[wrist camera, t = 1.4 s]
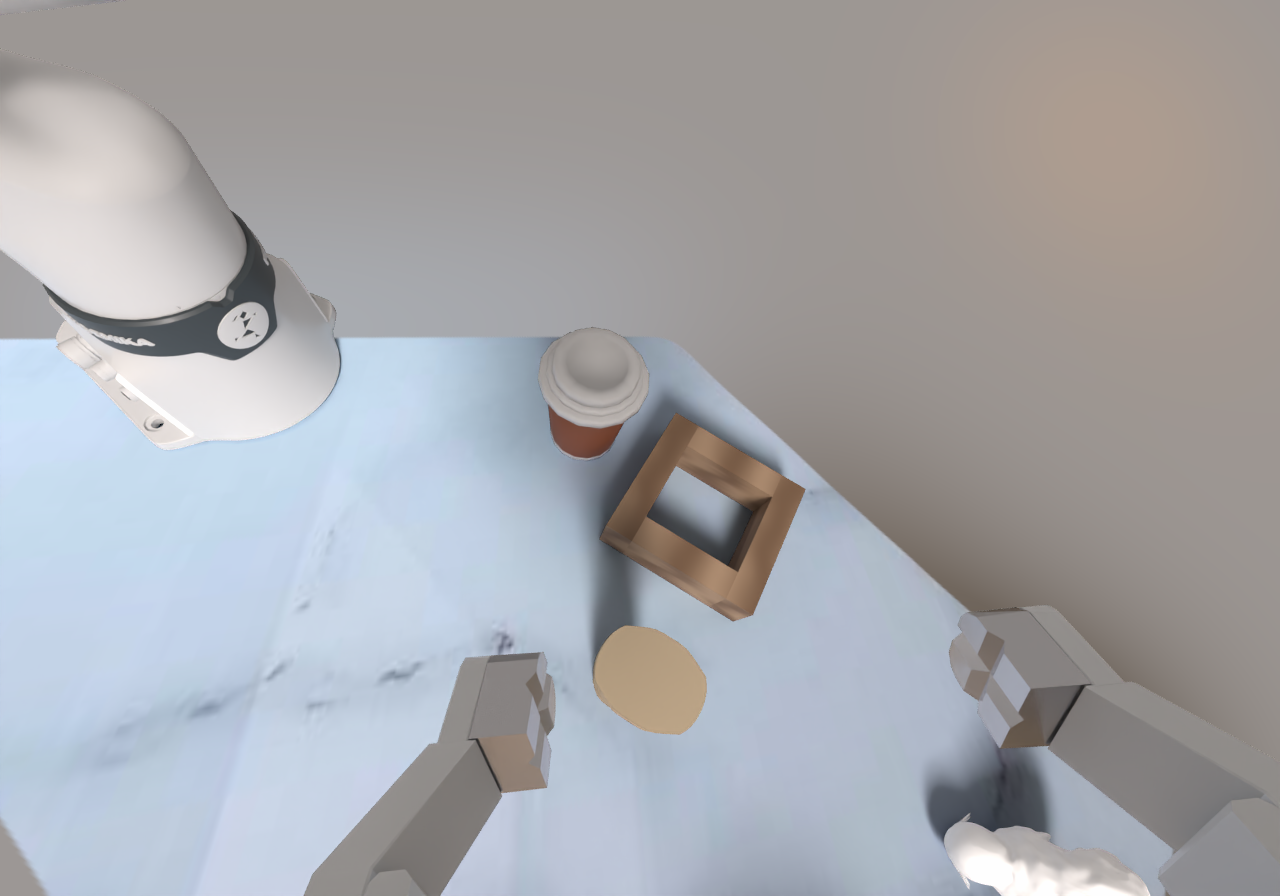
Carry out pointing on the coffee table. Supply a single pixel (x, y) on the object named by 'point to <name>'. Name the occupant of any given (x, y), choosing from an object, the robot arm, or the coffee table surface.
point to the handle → (649, 680)
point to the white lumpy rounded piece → (1036, 864)
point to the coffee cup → (591, 390)
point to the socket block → (679, 559)
